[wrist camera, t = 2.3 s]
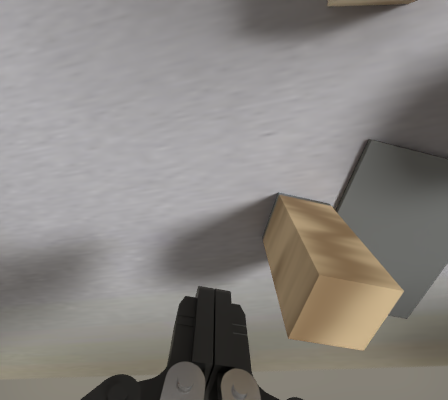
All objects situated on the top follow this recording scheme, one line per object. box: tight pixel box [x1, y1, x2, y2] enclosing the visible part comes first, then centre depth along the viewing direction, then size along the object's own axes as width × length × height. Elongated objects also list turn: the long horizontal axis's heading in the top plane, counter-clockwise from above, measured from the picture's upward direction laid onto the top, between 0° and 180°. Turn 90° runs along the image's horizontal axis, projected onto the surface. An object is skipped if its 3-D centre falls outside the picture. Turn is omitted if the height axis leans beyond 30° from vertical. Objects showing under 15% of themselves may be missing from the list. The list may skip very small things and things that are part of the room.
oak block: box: [262, 193, 404, 351], centre depth 18 cm, size 4×4×10 cm
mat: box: [336, 139, 448, 319], centre depth 24 cm, size 12×16×1 cm
